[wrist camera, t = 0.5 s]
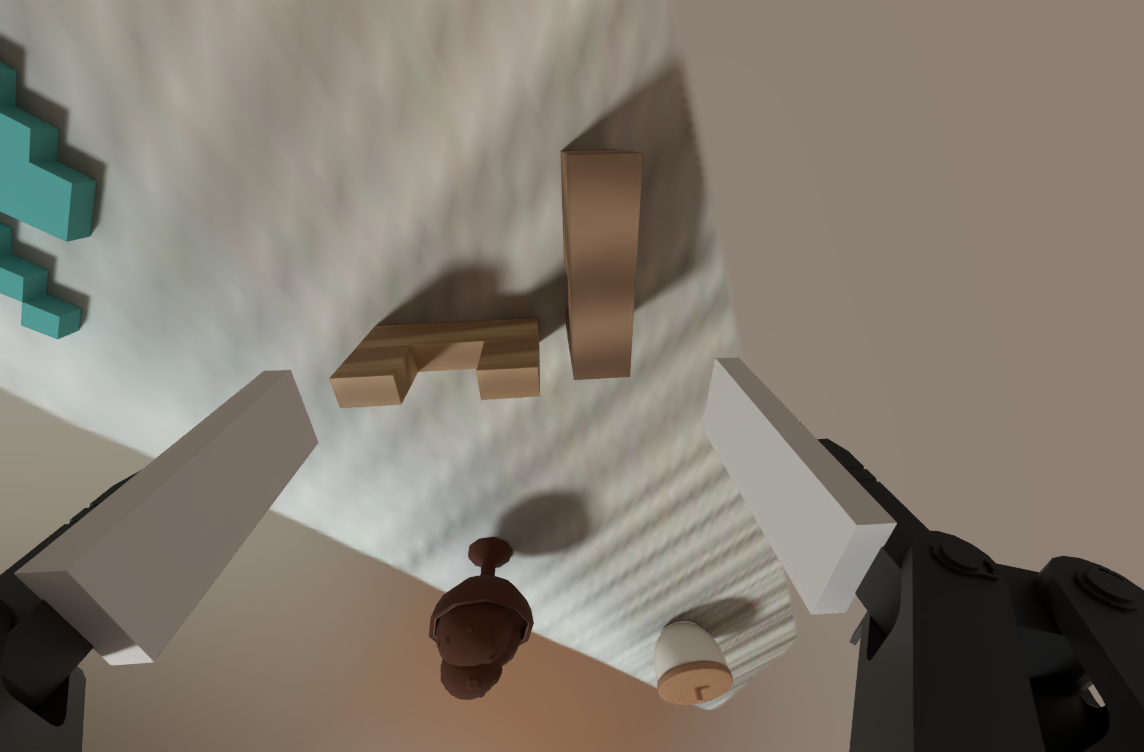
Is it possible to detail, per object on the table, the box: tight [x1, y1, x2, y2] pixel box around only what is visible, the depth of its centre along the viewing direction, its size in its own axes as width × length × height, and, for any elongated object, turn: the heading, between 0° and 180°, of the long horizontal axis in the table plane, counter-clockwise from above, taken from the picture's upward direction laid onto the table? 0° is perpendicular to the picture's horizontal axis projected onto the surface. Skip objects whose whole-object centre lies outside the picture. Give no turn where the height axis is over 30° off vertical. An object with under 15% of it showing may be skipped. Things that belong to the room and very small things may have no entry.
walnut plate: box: [561, 150, 643, 380], centre depth 29 cm, size 14×4×9 cm, turn 1°
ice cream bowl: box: [429, 537, 534, 700], centre depth 45 cm, size 11×11×15 cm
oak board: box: [329, 318, 540, 408], centre depth 32 cm, size 2×14×9 cm, turn 91°
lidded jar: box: [654, 621, 733, 705], centre depth 60 cm, size 11×11×9 cm
